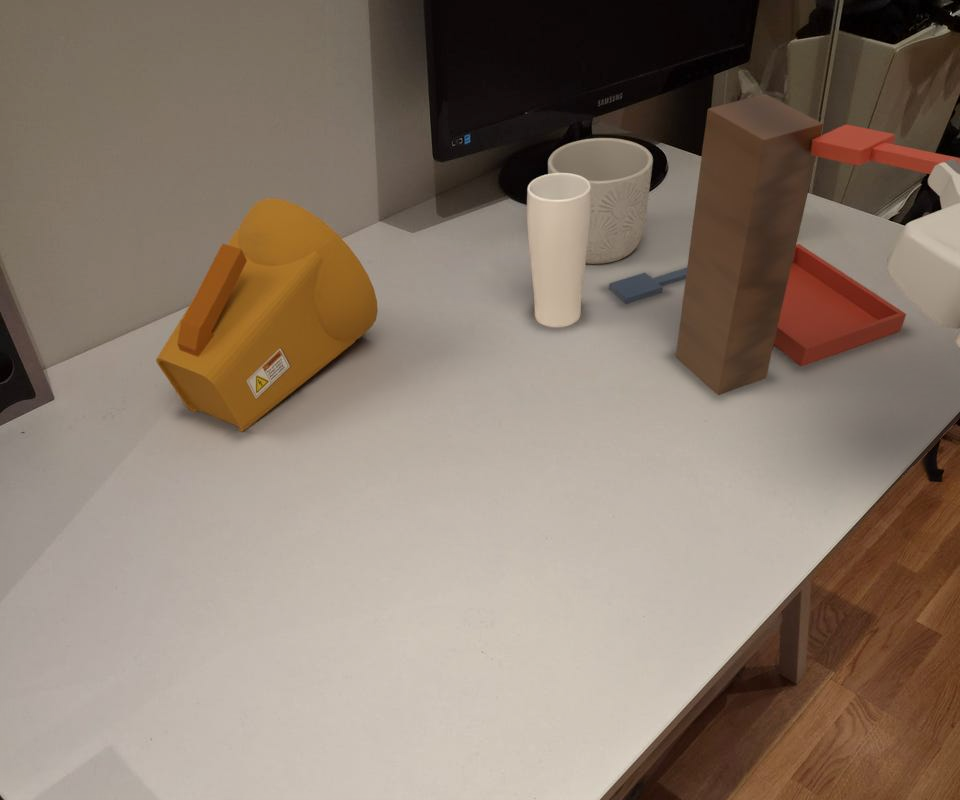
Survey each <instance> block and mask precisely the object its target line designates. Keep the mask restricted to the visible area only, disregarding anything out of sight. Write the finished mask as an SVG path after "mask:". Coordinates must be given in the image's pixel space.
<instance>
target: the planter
mask: <svg viewBox="0 0 960 800" xmlns="http://www.w3.org/2000/svg"><path fill="white" fill-rule="evenodd" d="M547 159H548V160H547V174H552V173H571V174H576V175H579V176H582V177H584V178H585V179H587V180H588V181H589V182H590V184H591V220H590V232H589V240H588V248H587V256H586V264H585V265H603V264H610V263H614V262H617V261H620V260H623V259H624V258H625V257H628V256H629V255H630V254H632V253H633V252H634V251H635V250H636V248H637V247H638V245H639V243H640V242H641V239H642V237H643V233H644V229H645V225H646V218H647V212H648V205H649V196H650V190H651V189H650V188H651V178H652V171H653V163H654V158H653V155H652V152H650V150H649V149H648V148H646V147H645V146H643V145H642V144H639V143H637V142H634V141H631V140H626V139H621V138H615V137H614V138H613V137H594V138H586V139H581V140H576V141H572V142H569V143H566V144H563V145H562V146H560V147H558V148H556V149H555V150H554V151H552V153H551V154H550V156H549V157H548V158H547Z"/></svg>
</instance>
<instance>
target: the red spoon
mask: <svg viewBox="0 0 960 800" xmlns="http://www.w3.org/2000/svg"><path fill="white" fill-rule="evenodd" d="M895 139H896V134H895V133H891V132H885V131H881V130H876V129H871V128H867V127H861V126H855V125H851V124H844V125H842V126H839V127H837V128H835V129H833V130H830V131H829V132H826V133H824V134H821V136H819V137H817V138H815V139H813V140H812V146H811V155H813V156H816V158H823V159H827V160H831V161H835V162H840V163H843V164H848V165H852V166H856V167H860V166H862V165H864V164H866V163H868V162H874V163H878V164H883V165H887V166H891V167H896V168H901V169H905V170H909V171H914V172H918V173H922V174H926V175H930V174H931V172H932V171H933V169H934V167H935V166H936V165H937V164H940V163H943V162H945V161H948V160H951V159H956V160H957V161H958V164H960V157H956V156H951V155H946V154H942V153H937V152H932V151H927V150H924V149H917V148H914V147H908V146H904V145H899V144H895Z"/></svg>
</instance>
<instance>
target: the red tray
mask: <svg viewBox="0 0 960 800" xmlns="http://www.w3.org/2000/svg"><path fill="white" fill-rule="evenodd" d="M906 316H907V314H906V312H904V311H902V310H901V309H899V308H898V307H896V306H894V305H893V304H892V303H890V302H889V301H887V300H886V299H884V298H883V297H882V296H879V295H878V294H876V293H875V292H873V291H872V290H871V289H869V288H867V287H866V286H864V285H863V284H861V283H860V282H859V281H857V280H855V279H854V278H852V277H850V276H848V275H847V274H846V273H845V272H843V271H841V270H840V269H838V268H837V267H835V266H834V265H833V264H831V263H829V262H828V261H827V260H825V259H823V258H821V257H820V256H819V255H817V254H815V253H814V252H812V251H810V250H809V249H807V248H806V247H805V246H803V245H801V244H800V243H796V248H795V252H794V257H793V261H792V265H791V270H790V274H789V279H788V283H787V287H786V292H785V296H784V301H783V305H782V310H781V314H780V318H779V323H778V327H777V332H776V336H775V340H774V345H773V347H776V348H777V349H778V350H779V351H781V352H782V353H783V354H785V355H786V356H787V357H788V358H790V359H791V360H792V361H794V362H795V363H797V365H799V366H800V367H804V366H807V365H811V364H812V363H815V362H818V361H821V360H824V359H827V358H830V357H833V356H835V355H838V354H841V353H845V352H847V351H850V350H852V349H855V348H859V347H860V346H864V345H867V344H869V343H872V342H875V341H878V340H880V339H883V338H886V337H889V336H892V335H894V334H897V333H900V332H901V331H902V328H903V326H904V322H905V320H906Z"/></svg>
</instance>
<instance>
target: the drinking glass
mask: <svg viewBox="0 0 960 800" xmlns="http://www.w3.org/2000/svg"><path fill="white" fill-rule="evenodd" d="M590 220H591V184H590V182H589V181H588V180H587V179H585V178H584V177H582V176H579V175H576V174H571V173H552V174H548V173H547V174H544V175H540V176H538V177H536V178H534V179H532V180H531V181H530V182H529V184H528V185H527V189H526V227H527V228H526V229H527V240H528V249H529V260H530V269H531V279H532V288H533V299H534V318H535V320H536V321H537V322H538V323H539V324H540V325H543V326H544V327H549V328H564V327H565V328H566V327H568V326H571V325H574V324H576V323H577V322H578V321H579V319H580V318H581V314H582V298H583V297H582V296H583V290H584V289H583V287H584V279H585V273H586V265H587V264H586V256H587V248H588V240H589V232H590Z"/></svg>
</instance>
